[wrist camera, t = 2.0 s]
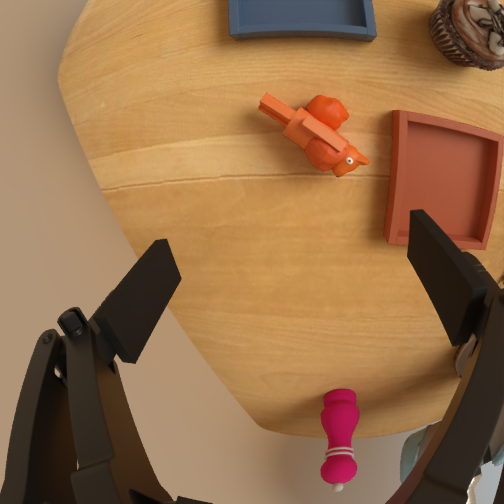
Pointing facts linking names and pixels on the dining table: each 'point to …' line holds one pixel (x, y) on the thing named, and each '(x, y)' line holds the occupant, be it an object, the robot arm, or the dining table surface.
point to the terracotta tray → (443, 178)
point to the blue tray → (302, 19)
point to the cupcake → (470, 32)
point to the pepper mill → (339, 436)
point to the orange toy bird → (317, 132)
